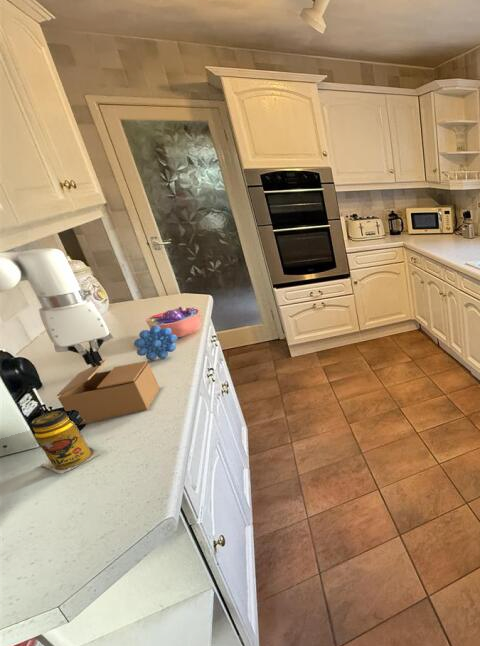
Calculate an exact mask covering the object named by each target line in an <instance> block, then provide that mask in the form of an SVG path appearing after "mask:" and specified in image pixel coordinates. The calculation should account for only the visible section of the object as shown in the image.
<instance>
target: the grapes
mask: <svg viewBox="0 0 480 646" xmlns="http://www.w3.org/2000/svg"><path fill="white" fill-rule="evenodd" d="M171 333H172V331H171V329H170V328H163V329H162V330H161V328H160V327H159V326H153V327H151V328H150V327H149V330H148V329H142V330H141V331H140V332H139V334H138V336H139V338H136V339H135V340H134V342H133V345H134V347H136V348H137V349H136V354H137V356H140V357H144V356H145V358H146V360H147V361H154V360H155V359H156V358H158V359H161V360H163V359H166V358H167V357H168V355H169V353H172V352H173V353H174V351H175V350H176V349H177V345H176V344H175V343H177V341H178V338H177V336H176V335H174V334H172V335H170V334H171Z"/></svg>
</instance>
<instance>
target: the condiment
mask: <svg viewBox="0 0 480 646" xmlns="http://www.w3.org/2000/svg"><path fill="white" fill-rule="evenodd" d="M30 427H31V428H32V430H33V431H34V432H35V433H34V438H35V440H36V441H37V443H38V444H39V445H40V448H41V449H42V451H43V452H44V453H45V455H46V457H47V459H48V461H47V462H45V463H43V464H41V466H42V467H44V468H46V469H49V470H51V471H53V472H55V473H57V474H59V475H63V474H65V473H66V472H68V471H71V470H72V469H75V468H77V467H79V466H81V465H83V464H84V463H87V462H88V461H90V460H92V459H94V458H95V457H97V456H99V455H101V454H103V453H104V452H103V451H100V450H97V449H94V448H92V447H89V445H88V443H87V441H86V440H85V438H84V437H83V435H82V433H81V431H80V429H79V428H78V425H75V423H74V422H73V421H71V420H70V418H69V416H68V415H67V413H66V411H62V410H57V411H51V412H48V413H44V414H42V415H40V416H38V417H36V418H34V419H33V420H32V421H31V422H30Z"/></svg>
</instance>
